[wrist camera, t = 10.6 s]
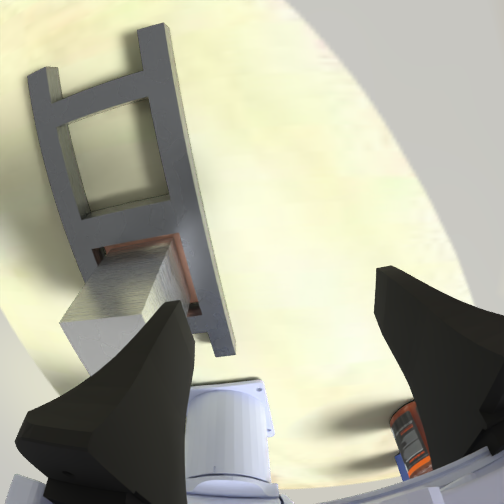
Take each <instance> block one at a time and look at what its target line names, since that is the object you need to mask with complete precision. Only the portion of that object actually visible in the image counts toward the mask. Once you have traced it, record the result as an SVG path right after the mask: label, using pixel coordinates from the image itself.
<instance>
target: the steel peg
mask: <svg viewBox="0 0 504 504" xmlns="http://www.w3.org/2000/svg"><path fill="white" fill-rule="evenodd" d="M190 299H191V295H190V291H189V288H188V285H187V282H186V278H185V275H184V272H183V268H182V265H181V261H180V258H179V255H178V251H177V248H176V244H175V240H174V237H170V238H164V239H159V240H154V241H148V242H143V243H138V244H133V245H127V246H122V247H117V248H112V249H110V251H109V252H108V253H107V255H106V256H105V257H104V259H103V260H102V261H101V263H100V264H99V265H98V267H97V268H96V269H95V271H94V272H93V274H92V275H91V276H90V278H89V279H88V281H87V282H86V283H85V285H84V286H83V288H82V289H81V291H80V292H79V293H78V295H77V296H76V298H75V299H74V301H73V302H72V304H71V305H70V307H69V308H68V310H67V311H66V313H65V314H64V316H63V317H62V319H61V320H60V322H59V324H60V325H61V327H62V329H63V331H64V333H65V334H66V336H67V338H68V340H69V342H70V343H71V345H72V347H73V348H74V350H75V352H76V353H77V355H78V357H79V358H80V360H81V362H82V363H83V365H84V366H85V368H86V370H87V371H88V373H89V374H90V376H92V375H93V374H95V373H96V372H97V371H98V370H100V369H101V368H102V367H103V366H104V365H106V364H107V363H108V362H109V361H110V360H111V359H112V358H114V357H115V356H116V355H117V354H118V353H119V352H120V351H121V350H122V349H123V348H124V347H125V346H126V345H127V344H128V342H129V341H130V340H131V339H132V338H133V337H134V336H135V335H136V334H137V333H138V332H139V331H140V330H141V328H142V327H143V326H144V325H145V324H146V323H147V322H148V320H149V319H150V318H151V317H152V316H153V315H154V313H155V312H156V311H157V310H158V309H159V308H160V307H161V305H162V304H163V303H164V302H168V301H176V300H181V303H182V306H183V309H184V312H185V315H186V318H187V313H188V308H189V304H190Z"/></svg>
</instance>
